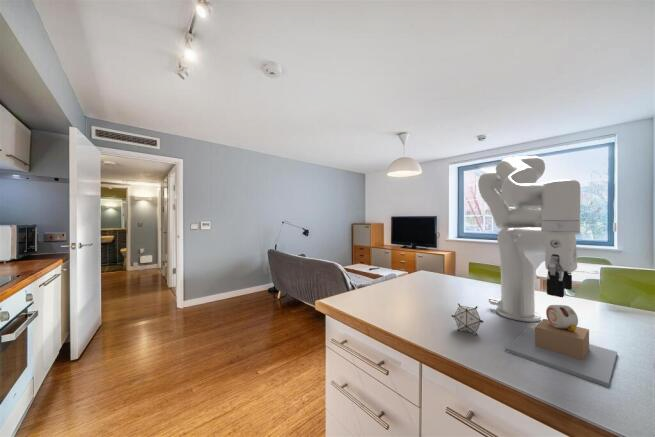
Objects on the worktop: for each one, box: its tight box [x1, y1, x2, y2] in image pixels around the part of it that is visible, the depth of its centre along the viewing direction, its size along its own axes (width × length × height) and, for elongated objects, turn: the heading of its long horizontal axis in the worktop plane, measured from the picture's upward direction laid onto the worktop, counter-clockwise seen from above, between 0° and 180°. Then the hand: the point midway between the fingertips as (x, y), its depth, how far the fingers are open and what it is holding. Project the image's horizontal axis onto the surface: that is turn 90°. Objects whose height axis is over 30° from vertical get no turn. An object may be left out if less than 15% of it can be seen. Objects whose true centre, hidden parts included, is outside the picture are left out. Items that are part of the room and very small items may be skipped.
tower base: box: [504, 318, 618, 388], centre depth 64 cm, size 18×20×6 cm
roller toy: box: [545, 304, 579, 332], centre depth 65 cm, size 4×6×6 cm
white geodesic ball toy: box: [450, 302, 484, 336], centre depth 76 cm, size 9×8×10 cm
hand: (559, 292), depth 66 cm, fingers open, 9 cm apart
